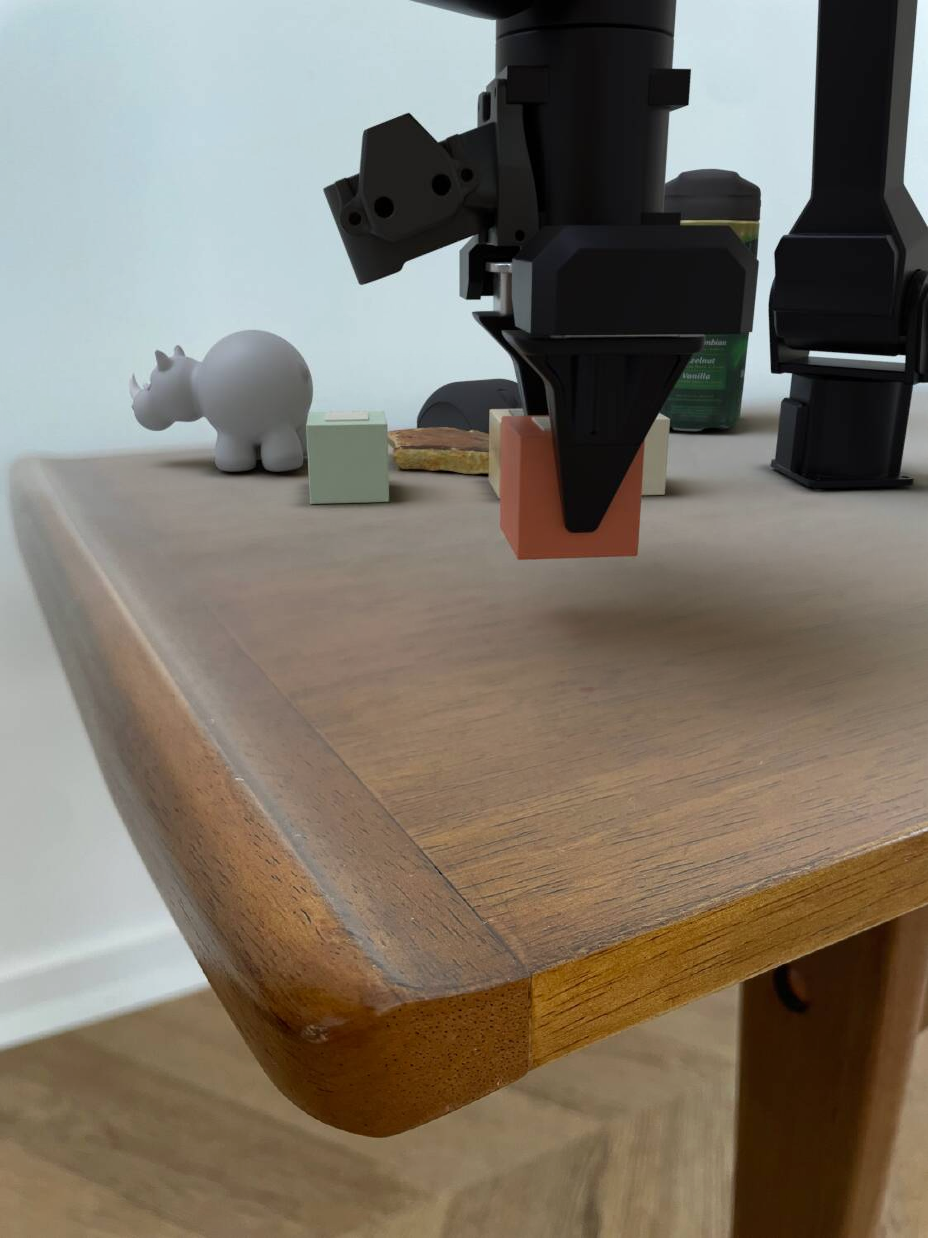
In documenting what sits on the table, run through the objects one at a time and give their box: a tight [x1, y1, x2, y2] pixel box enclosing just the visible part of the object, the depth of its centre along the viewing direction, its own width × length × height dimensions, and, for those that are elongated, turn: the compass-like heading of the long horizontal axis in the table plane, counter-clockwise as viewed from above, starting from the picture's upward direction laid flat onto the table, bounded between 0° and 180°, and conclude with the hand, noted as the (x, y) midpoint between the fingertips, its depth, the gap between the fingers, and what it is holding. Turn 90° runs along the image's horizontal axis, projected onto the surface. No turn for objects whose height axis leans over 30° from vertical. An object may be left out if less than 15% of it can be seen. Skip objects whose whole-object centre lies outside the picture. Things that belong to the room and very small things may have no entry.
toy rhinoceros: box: [128, 329, 314, 473], centre depth 66 cm, size 7×12×8 cm, turn 82°
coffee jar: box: [659, 168, 762, 432], centre depth 79 cm, size 10×8×19 cm
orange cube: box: [499, 415, 645, 561], centre depth 38 cm, size 4×4×4 cm
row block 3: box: [641, 413, 671, 496], centre depth 61 cm, size 4×4×4 cm
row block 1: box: [306, 410, 390, 505], centre depth 59 cm, size 4×4×4 cm
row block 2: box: [488, 409, 524, 500], centre depth 60 cm, size 4×4×4 cm
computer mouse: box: [416, 378, 523, 434], centre depth 77 cm, size 6×11×4 cm, turn 30°
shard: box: [388, 427, 489, 475], centre depth 66 cm, size 11×8×2 cm
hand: (566, 514), depth 39 cm, fingers closed on orange cube, 4 cm apart
